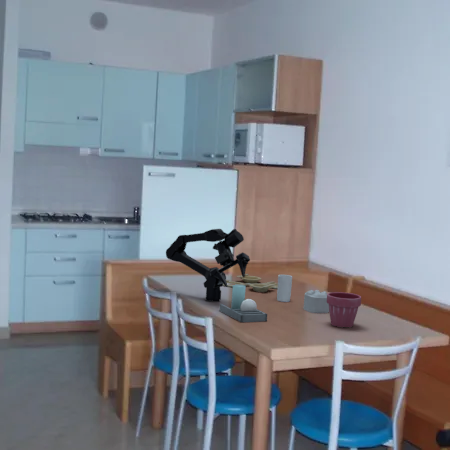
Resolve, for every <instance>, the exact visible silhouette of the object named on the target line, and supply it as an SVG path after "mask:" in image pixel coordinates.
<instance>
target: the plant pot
mask: <svg viewBox="0 0 450 450" xmlns="http://www.w3.org/2000/svg"><path fill="white" fill-rule="evenodd" d="M327 303H328V304H329V313H328V314H329V318H330V325H332V326H333V327H336V326H337V328H343V327H349V328H352V326H354V324H355V320H356V318H357V315H358V314H357V313H358V310H359V308H360V307H361V306H362V296H361V295H359V294H357V293H351V292H341V291H340V292H339V291H335V292H332V291H331V292H328V293H327Z"/></svg>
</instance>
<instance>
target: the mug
mask: <svg viewBox="0 0 450 450" xmlns="http://www.w3.org/2000/svg"><path fill="white" fill-rule="evenodd" d="M277 283H278V289H276V290H277V291H276V292H277V293H276V301H278V302H282V303H289V302H291V294H292V285H293V284H292V283H293V276H292V275H290V274H278V276H277Z"/></svg>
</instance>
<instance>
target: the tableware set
mask: <svg viewBox="0 0 450 450" xmlns="http://www.w3.org/2000/svg"><path fill="white" fill-rule="evenodd" d="M236 278H239V279H241V280H242V281H243V282H240V281H239V282H238V281H230V279H226V282H227V283H233V284H239V285H245V286H249V287H251V288H252V289H253V291H254V292H257V293H266V292H268V290H269V289H275V290H277V289H278V282H276V281H268V282H262V283H258V282H259V281H261V280H262V277H260V276H254V275H250V274H249V273H245V277H243V276H242V274H241V275H236ZM223 286H224V287H226V286H225V285H224V284H223ZM223 286H222V287H223ZM227 286H228V287H227V288H233V285H227Z"/></svg>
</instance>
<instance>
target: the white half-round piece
mask: <svg viewBox="0 0 450 450" xmlns="http://www.w3.org/2000/svg"><path fill="white" fill-rule="evenodd" d="M257 307H258V306H257V303H256V301H255V300H253V299H251V298H246V299H245V300H244V301H243V302H242V303H241V306H240V309H241V311H248V310H256V309H258V308H257Z"/></svg>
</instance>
